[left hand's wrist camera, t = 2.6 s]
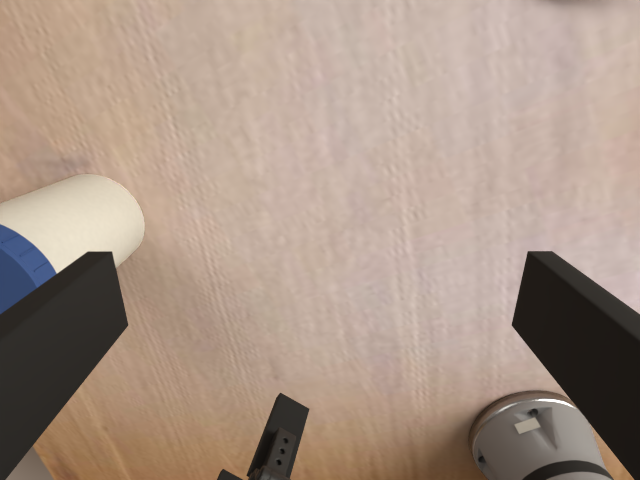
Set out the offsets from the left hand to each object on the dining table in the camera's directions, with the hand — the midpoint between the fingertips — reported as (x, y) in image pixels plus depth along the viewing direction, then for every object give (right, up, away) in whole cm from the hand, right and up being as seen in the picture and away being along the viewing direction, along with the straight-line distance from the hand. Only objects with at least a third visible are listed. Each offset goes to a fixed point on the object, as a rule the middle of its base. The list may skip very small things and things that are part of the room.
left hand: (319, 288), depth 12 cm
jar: (-24, +4, +29) cm, 37 cm away
